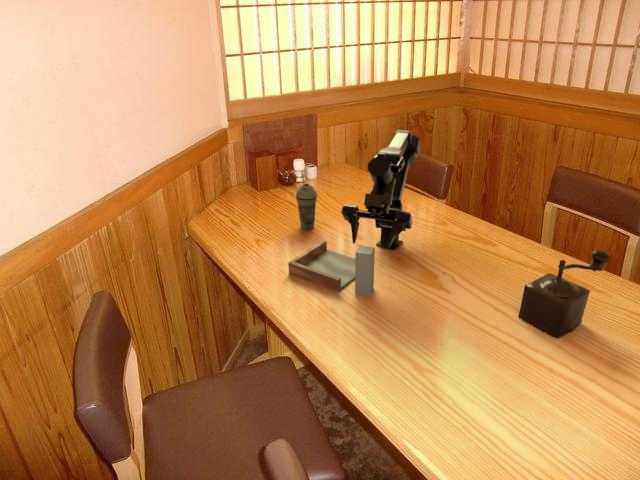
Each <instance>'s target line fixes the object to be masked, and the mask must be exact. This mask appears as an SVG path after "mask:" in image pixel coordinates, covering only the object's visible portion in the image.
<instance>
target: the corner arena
mask: <svg viewBox="0 0 640 480" xmlns="http://www.w3.org/2000/svg"><path fill="white" fill-rule="evenodd" d="M327 241H328V240H326V239H325V240H324V239H323V240H321V241H320V242H318V243H316V244H315V245H313V246H312V247H310V248H308V249H307V250H305V251H304V252H302V253H300V255H298V256H296V257H295V258H293V259H291V260H290V261H288V262H287V264H288V274H290V275H292V276H295V277H298V278H300V279H302V280H305V281H309V282H310V283H314V284H317V285H319V286H322V287H324V288H328V289H329V290H333V291H336V292H339V293H340V291H341V290H343V289H344V288H345V287H346V286H347V285H349V284H350V283H351V282H352V281H355V258H356V257H355V258H354V257H352V256H348V255H345V254H342V253H340V252H335V251H333V250H330V249H327V247H328V244H327V243H328V242H327Z"/></svg>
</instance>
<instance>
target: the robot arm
mask: <svg viewBox="0 0 640 480" xmlns="http://www.w3.org/2000/svg"><path fill="white" fill-rule="evenodd" d="M421 145H422V144H421V141H420V138H419V137H417V136H416V135H415V134H413V131H411V130H403V129H398V130H395V132H394V136H393V138H392V140H391V141H390V144H388V146H387V147H384V148H381V149H380V150H379V151H378V152H377V154H376V155H375V156H374V157H373V158H371V159H370V160H369V162H368V164H367V171H368V173H369V176H370V178H371V182H372V183H373V184H372V189H371V190H370V191H371V192H370V193H365V195H364V202H363V206H364V207H365V209H366V210H360V209H359V206H358V205H355V204H347V203H346V204H344V205H343V206H342V208H341V212H340V213H341V215H342V217H343V219H344V220H345V221H347V222H348V224H349V225H350V230H351V238H352V240H351V241H352V244H353V245H355V244H356V241H357V237H358V233H359V228H360V222H359V220H360V219H361V218H362V219H368V220H369V219H371V220H374V221H375V222H374V223H375V228H376V229H380V240H379V241H378V242H376V243H375V245H376V246H377V247H382V248H385V249H387V250H391V251H395V250H396V249H398V247H400V246H401V245H402V244H403V243H404V241H403V240H400V234H401V233H402V232H406V231H407V230H411V229H412V226H413V216H412V214H411V212H410V211H404V207H403V203H402V198H403V193H404V190H405V185H406V182H407V178H408V173H409V170H410V167H411V165H412V164H414V163H415V162H416V161H417V158H418V155H419V154H420V153H421Z"/></svg>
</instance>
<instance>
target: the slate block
mask: <svg viewBox="0 0 640 480" xmlns="http://www.w3.org/2000/svg"><path fill="white" fill-rule="evenodd" d="M375 255H376V247H374V246H368V245H361V244H360V245H359V246H358V247H357V249H356V251H355V279H354V294H356V295H362V296H366V297H370V296H371V294H372V292H373V290H374V289H375V288H374V286H375V285H374V282H375V258H376V257H375Z"/></svg>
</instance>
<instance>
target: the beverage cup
mask: <svg viewBox="0 0 640 480" xmlns="http://www.w3.org/2000/svg"><path fill="white" fill-rule="evenodd" d="M301 178H302V184H301V185H300V186H299V187H298V188H297V190H296V194H295V199H296V202H297V208H298V218H299V223H300V228H301V229H302V230H303V231H304V230H307V231H310V230H313V229H314V228H315V219H316V218H315V216H316V204H317V197H318V193H317V190H316V189H315V187H314V186H313V185H311V184H309V183H305V177H304V171H301Z"/></svg>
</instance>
